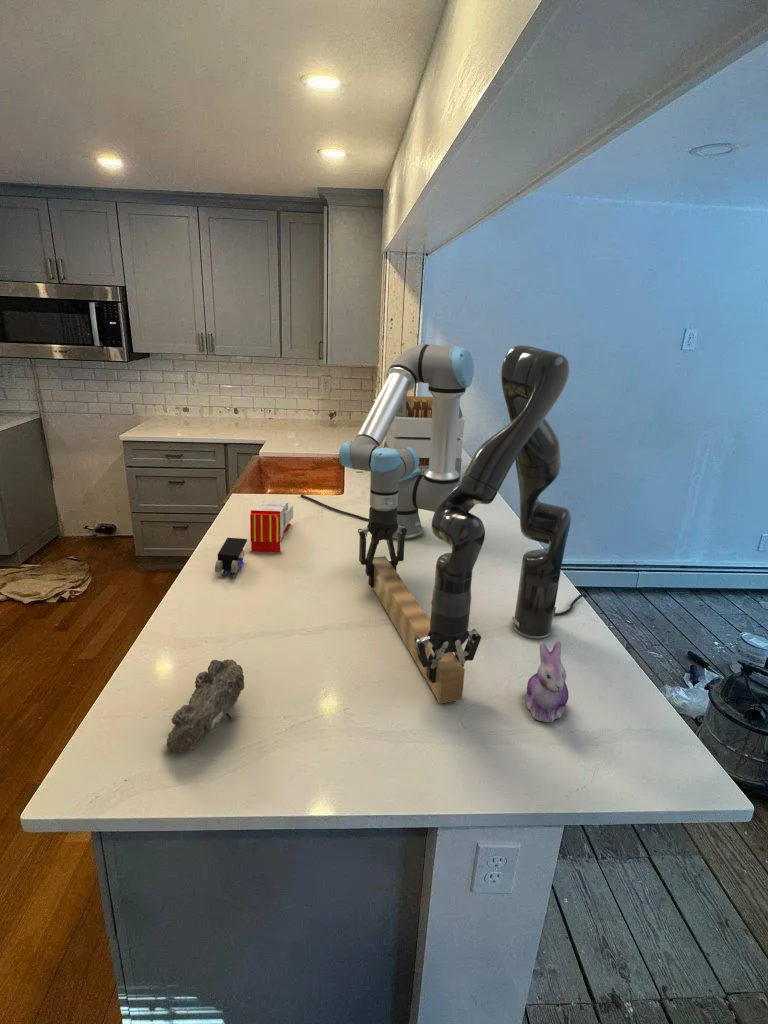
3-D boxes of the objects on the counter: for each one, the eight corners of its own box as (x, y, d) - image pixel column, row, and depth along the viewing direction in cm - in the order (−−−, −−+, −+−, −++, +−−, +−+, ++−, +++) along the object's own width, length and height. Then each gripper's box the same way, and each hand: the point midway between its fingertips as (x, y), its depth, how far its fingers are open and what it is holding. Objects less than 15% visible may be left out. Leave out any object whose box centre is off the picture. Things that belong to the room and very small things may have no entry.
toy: (295, 495, 204) (283, 512, 175) (295, 531, 207) (283, 554, 178) (261, 494, 204) (243, 511, 175) (262, 530, 207) (244, 553, 177)
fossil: (192, 660, 117) (244, 628, 112) (224, 691, 120) (276, 661, 115) (142, 746, 98) (202, 712, 93) (182, 779, 101) (242, 748, 96)
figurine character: (238, 584, 162) (249, 557, 175) (236, 562, 158) (247, 536, 172) (215, 584, 161) (227, 556, 175) (212, 561, 158) (225, 535, 171)
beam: (368, 580, 162) (369, 557, 160) (384, 579, 164) (385, 556, 161) (439, 703, 113) (442, 672, 111) (461, 699, 115) (464, 669, 112)
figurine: (546, 731, 108) (557, 664, 103) (511, 699, 116) (520, 636, 111) (582, 717, 112) (595, 652, 107) (546, 687, 121) (556, 626, 116)
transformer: (382, 463, 289) (386, 382, 275) (445, 464, 293) (451, 384, 279) (390, 482, 257) (394, 392, 243) (460, 483, 261) (468, 394, 247)
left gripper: (354, 513, 145) (352, 594, 153) (419, 509, 150) (414, 587, 158) (347, 504, 152) (346, 581, 160) (410, 500, 157) (406, 575, 165)
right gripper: (423, 620, 105) (417, 695, 111) (492, 611, 109) (484, 684, 115) (409, 600, 112) (405, 673, 118) (476, 593, 116) (468, 663, 122)
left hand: (380, 584), depth 159 cm, fingers closed on beam, 5 cm apart
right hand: (444, 678), depth 117 cm, fingers closed on beam, 4 cm apart
